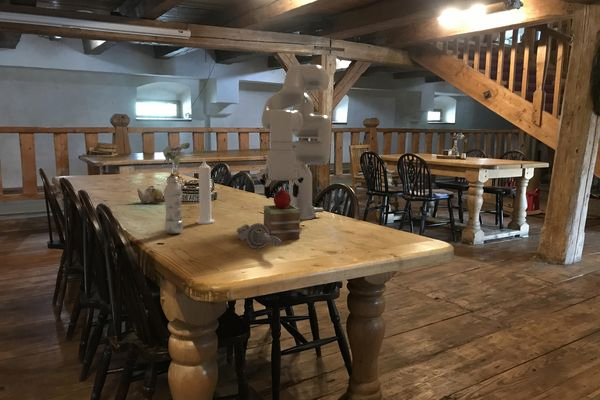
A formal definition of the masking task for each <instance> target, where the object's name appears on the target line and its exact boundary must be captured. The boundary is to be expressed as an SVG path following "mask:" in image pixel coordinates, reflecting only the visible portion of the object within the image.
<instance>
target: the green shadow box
mask: <svg viewBox="0 0 600 400" xmlns="http://www.w3.org/2000/svg"><path fill="white" fill-rule="evenodd" d="M300 224H301V220H300V209H299V208H297V207H295V206H293V205H289V206H288V207H287V208H286V209H283V210H280V209H278V208H277V207H276V206H275V204H274V205H273V204H271V205H270V204H269V205H263V225H265V226H266V227H267V229H268V231H269V236H275V237H277V238H279V239H280V240H281V241H288V240H300V239H301V238H300V235H301V234H300V232H301V229H300V227H301V226H300Z"/></svg>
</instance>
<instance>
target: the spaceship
mask: <svg viewBox="0 0 600 400" xmlns="http://www.w3.org/2000/svg"><path fill="white" fill-rule="evenodd" d="M257 230H258V232H257ZM236 232H237V235H238V237H239V239H240V240H241V242H243V243H247V245H248V246H249V247H250V248H252V249H255V250H257V249H263V248H264V247H265V246H268V245H269V244H273V245H274V246H277V247H281V246H282V245H283V242H282V240H280V239H279V238H277V237H275V236H269V231H268V229H267V227H266V226H265V225H264V223H259V222H256V223H254V224H251V225H250V226H249V224H248V223H245V224H244V225H242V226H241V227H238V228H237V230H236Z"/></svg>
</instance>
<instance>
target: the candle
mask: <svg viewBox="0 0 600 400" xmlns="http://www.w3.org/2000/svg"><path fill="white" fill-rule="evenodd" d="M211 174H212V173H211V166H209V165H208V164H207V162H206V158H203V160H202V163H201V165H199V166H198V200H199V201H198V202H199V219H197V220H196V223H197V224H200V225H210V224H214V223H215V222H216V220H215V219H214V218H212V187H211V185H212V184H211V180H212V179H211Z"/></svg>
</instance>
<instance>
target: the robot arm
mask: <svg viewBox="0 0 600 400" xmlns="http://www.w3.org/2000/svg"><path fill="white" fill-rule="evenodd" d="M285 74H286V75H285V78H284V82H283V85H282V88H281V89H280V90H279V91H277V92H276V93H273V94H272V96H271V97H269V98H268V99H267V100H266V101H265V104H264V107H263V110H262V114H261V126H262V128H263V129H264V130H265V131H268V132H269V133H270V134H269V135H270V136H269V137H270V138H269V147H270V149H269V150H268V151H267V154H266V161H265V168H264V169H262V170H260V171H258V172H257V173H256V174H255V176H256V178H257V179H258V181H259V183H260V184H261V185H263V186H264V187H263V189H264V190H263V196H264V197H265V198H266V199H270V198H271V189H270V184H271V183H272V182H287V181H288V182H289V183H288V194H289V195H290V197H291V203H290V205H293V206H295V207H297V208H299V209H300V221H302V220H304V221H306V220H313V219H315V218H316V213H323V212H324V208H323V207H315V206H313V173H312V171H311V170H310V168H309V167H308V166H307V165H318V166H320V165H327V164H328V163H329V162H330V156H331V143H332V142H331V141H332V138H331V135H332V122H331V119H330V117H329V116H328V115H325V114H314V112H315V111H314V110H315V109H314V108H315V105H314V104H315V103H314V101H313V99H312V98H311V97H310V95H309V94H307V93H306V92H324V91H326V90H327V89H328V88H329V86H330V85H329V84H330V76H329V73H328V71H327V70H326V69H325V68H324V66H322V65H319V64H295V65H291V66H290V67H289V68H288V69H287V71H286V73H285ZM288 108H293V109H288ZM293 137H296V138H298V139H299V138H300V139H318V140H293ZM263 175H265V178H266V179H264V178H263Z"/></svg>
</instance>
